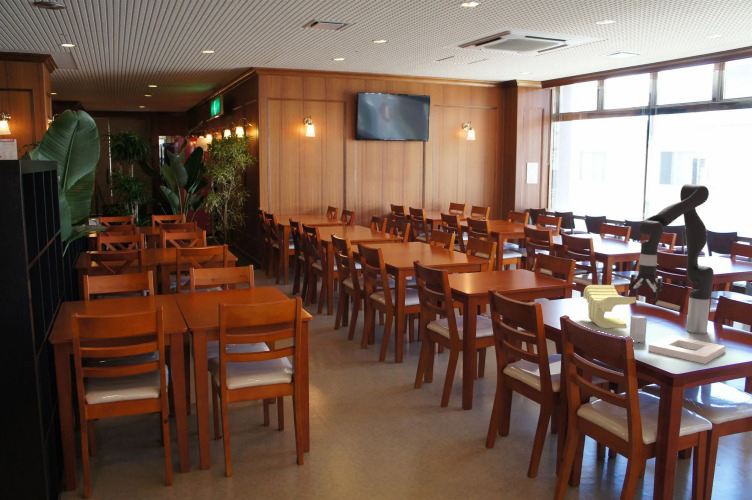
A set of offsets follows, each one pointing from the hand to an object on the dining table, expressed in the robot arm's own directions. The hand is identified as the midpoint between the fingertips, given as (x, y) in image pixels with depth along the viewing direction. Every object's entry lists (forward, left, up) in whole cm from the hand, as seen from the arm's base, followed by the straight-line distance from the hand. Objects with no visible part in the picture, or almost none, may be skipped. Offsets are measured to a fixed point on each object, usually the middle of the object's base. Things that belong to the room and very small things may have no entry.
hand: (644, 298), depth 300 cm
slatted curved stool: (-18, -26, -21) cm, 38 cm away
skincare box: (+2, -1, -21) cm, 21 cm away
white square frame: (+1, +21, -21) cm, 29 cm away
